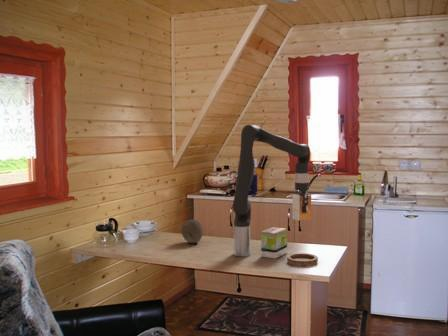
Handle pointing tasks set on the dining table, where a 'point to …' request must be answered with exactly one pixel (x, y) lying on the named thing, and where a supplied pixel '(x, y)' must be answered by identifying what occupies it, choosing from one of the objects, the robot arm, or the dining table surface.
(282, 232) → the tea box
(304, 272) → the dining table surface
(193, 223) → the cantaloupe
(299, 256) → the tray
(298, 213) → the small box
